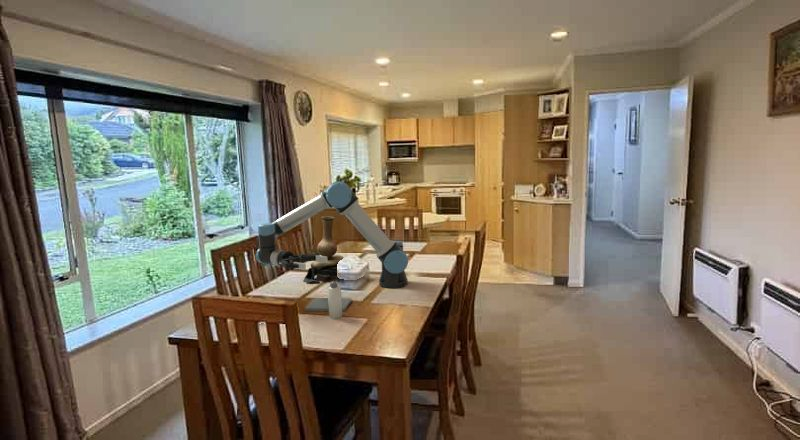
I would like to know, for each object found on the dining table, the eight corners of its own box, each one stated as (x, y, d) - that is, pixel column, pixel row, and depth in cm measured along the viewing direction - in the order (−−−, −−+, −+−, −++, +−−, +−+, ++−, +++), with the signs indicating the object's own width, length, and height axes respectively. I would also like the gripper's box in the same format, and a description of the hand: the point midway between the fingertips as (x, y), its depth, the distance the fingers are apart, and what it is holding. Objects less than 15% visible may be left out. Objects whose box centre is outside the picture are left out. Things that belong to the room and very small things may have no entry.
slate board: (351, 300, 201) (351, 298, 201) (344, 311, 187) (343, 308, 187) (315, 300, 204) (315, 298, 203) (304, 310, 190) (304, 308, 190)
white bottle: (343, 314, 184) (341, 279, 182) (340, 318, 179) (338, 283, 176) (331, 313, 185) (329, 279, 183) (327, 318, 179) (325, 283, 177)
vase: (341, 283, 231) (338, 219, 226) (301, 284, 232) (296, 221, 227) (347, 271, 255) (344, 213, 250) (310, 272, 255) (306, 215, 250)
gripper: (302, 260, 208) (335, 265, 196) (261, 272, 187) (295, 278, 176) (301, 245, 207) (334, 249, 195) (260, 256, 186) (294, 261, 175)
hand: (316, 263), depth 185 cm, fingers open, 13 cm apart
